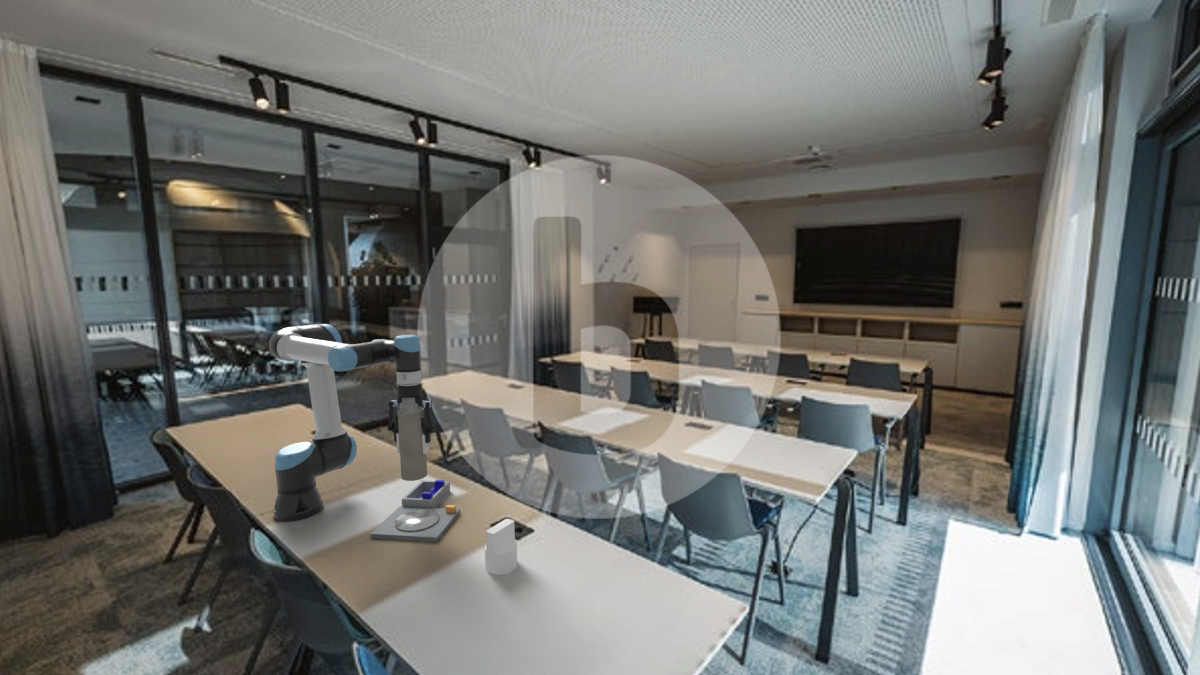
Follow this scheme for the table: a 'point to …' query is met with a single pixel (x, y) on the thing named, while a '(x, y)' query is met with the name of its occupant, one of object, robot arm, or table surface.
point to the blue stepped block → (433, 490)
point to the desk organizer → (425, 486)
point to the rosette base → (416, 523)
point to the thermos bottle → (411, 440)
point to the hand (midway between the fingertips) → (413, 451)
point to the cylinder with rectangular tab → (501, 548)
